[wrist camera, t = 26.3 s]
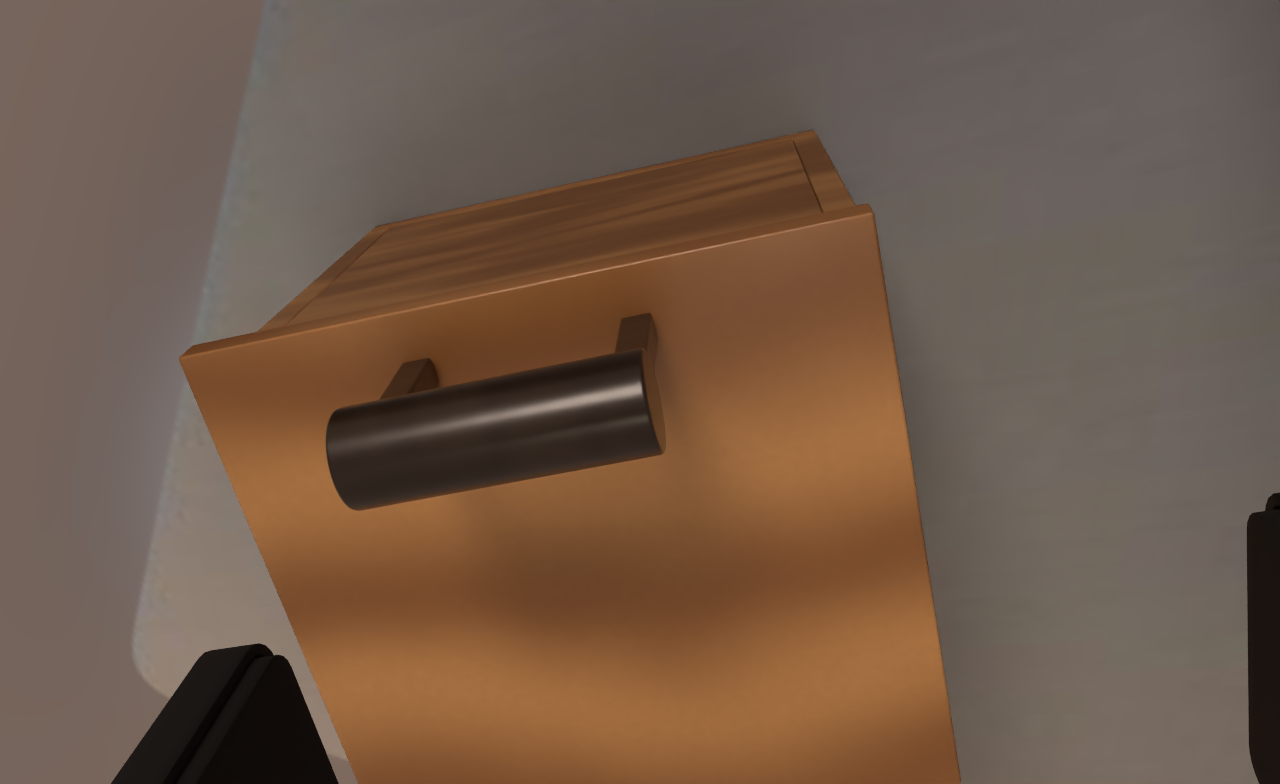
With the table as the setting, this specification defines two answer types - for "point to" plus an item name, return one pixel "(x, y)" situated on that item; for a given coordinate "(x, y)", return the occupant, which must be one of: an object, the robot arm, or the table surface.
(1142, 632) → the table surface
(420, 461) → the chest lid
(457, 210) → the chest
